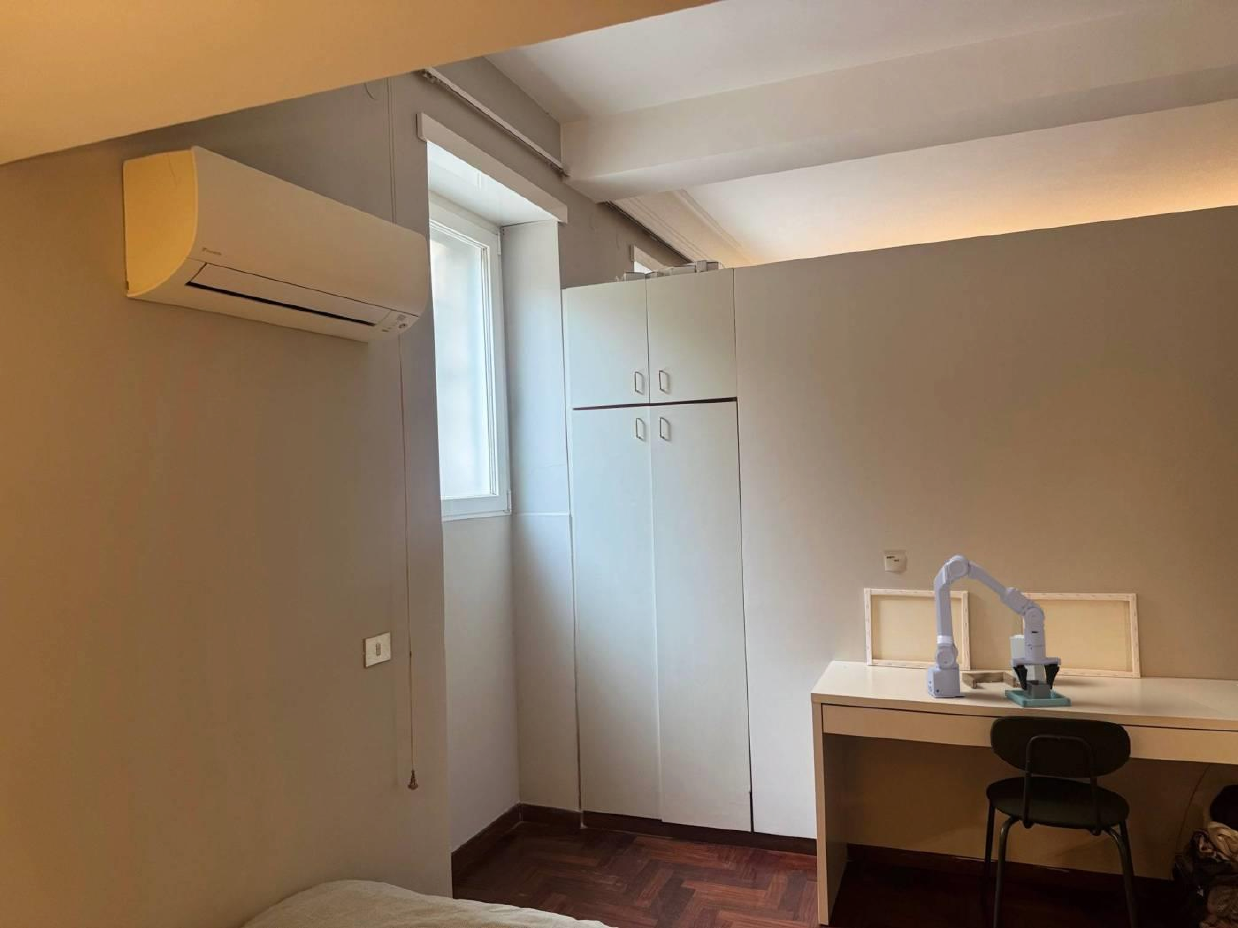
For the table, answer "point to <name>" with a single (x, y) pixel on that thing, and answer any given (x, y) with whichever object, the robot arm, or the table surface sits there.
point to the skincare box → (1019, 652)
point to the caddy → (1037, 690)
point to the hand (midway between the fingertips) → (1036, 689)
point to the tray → (1055, 699)
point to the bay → (987, 678)
